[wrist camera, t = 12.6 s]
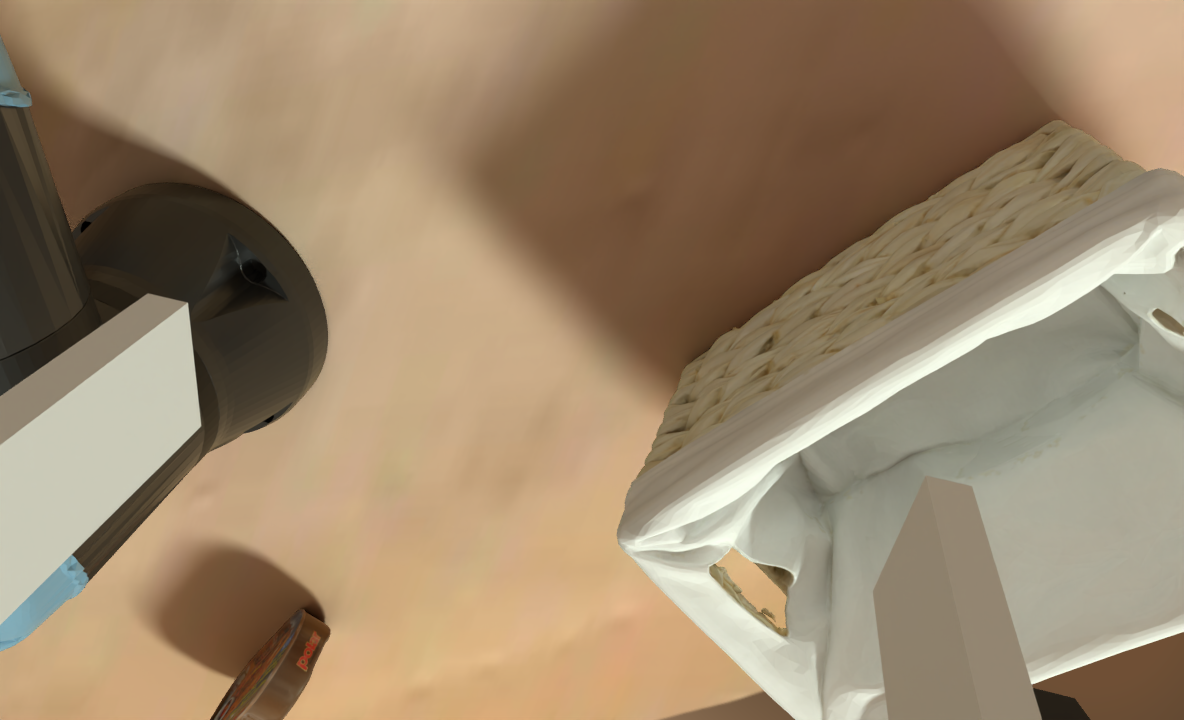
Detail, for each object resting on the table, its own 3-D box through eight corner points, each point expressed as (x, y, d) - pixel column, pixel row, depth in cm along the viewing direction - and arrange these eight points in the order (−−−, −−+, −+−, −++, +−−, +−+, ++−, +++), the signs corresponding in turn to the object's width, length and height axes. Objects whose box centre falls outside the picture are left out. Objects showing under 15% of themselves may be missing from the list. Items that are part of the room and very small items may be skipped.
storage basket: (820, 548, 52) (832, 769, 39) (642, 360, 48) (592, 541, 35) (1246, 333, 41) (1451, 546, 28) (1063, 64, 37) (1208, 174, 24)
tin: (317, 588, 62) (257, 684, 55) (353, 612, 63) (298, 710, 56) (231, 679, 70) (168, 773, 62) (264, 700, 70) (206, 796, 63)
